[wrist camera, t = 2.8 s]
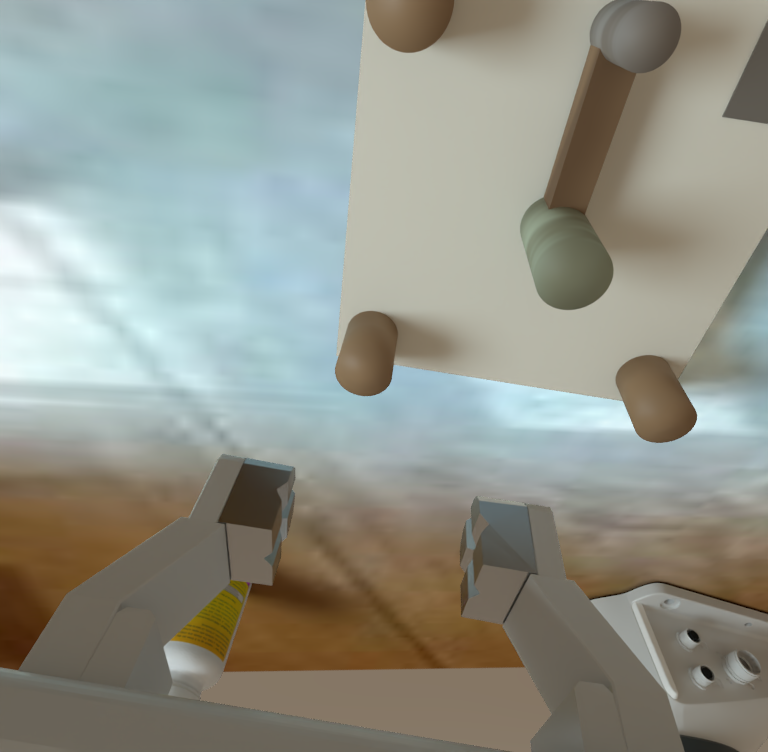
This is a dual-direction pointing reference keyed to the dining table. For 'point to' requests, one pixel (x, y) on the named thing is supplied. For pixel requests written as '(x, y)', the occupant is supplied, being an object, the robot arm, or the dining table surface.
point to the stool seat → (528, 184)
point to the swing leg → (592, 151)
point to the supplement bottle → (206, 642)
